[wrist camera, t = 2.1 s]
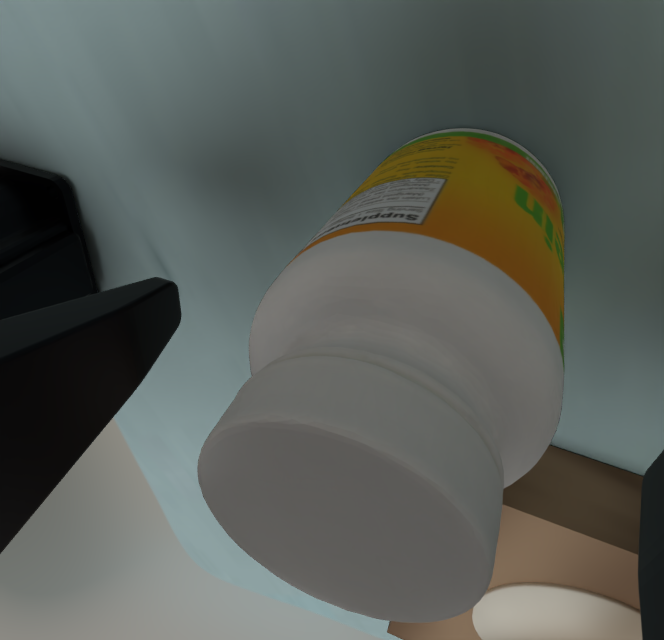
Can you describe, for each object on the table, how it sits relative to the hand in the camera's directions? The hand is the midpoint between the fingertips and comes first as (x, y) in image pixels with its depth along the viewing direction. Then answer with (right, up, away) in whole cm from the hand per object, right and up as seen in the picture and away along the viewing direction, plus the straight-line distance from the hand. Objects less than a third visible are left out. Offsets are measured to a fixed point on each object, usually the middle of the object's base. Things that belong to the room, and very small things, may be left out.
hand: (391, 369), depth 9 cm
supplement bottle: (+2, +4, +5) cm, 7 cm away
